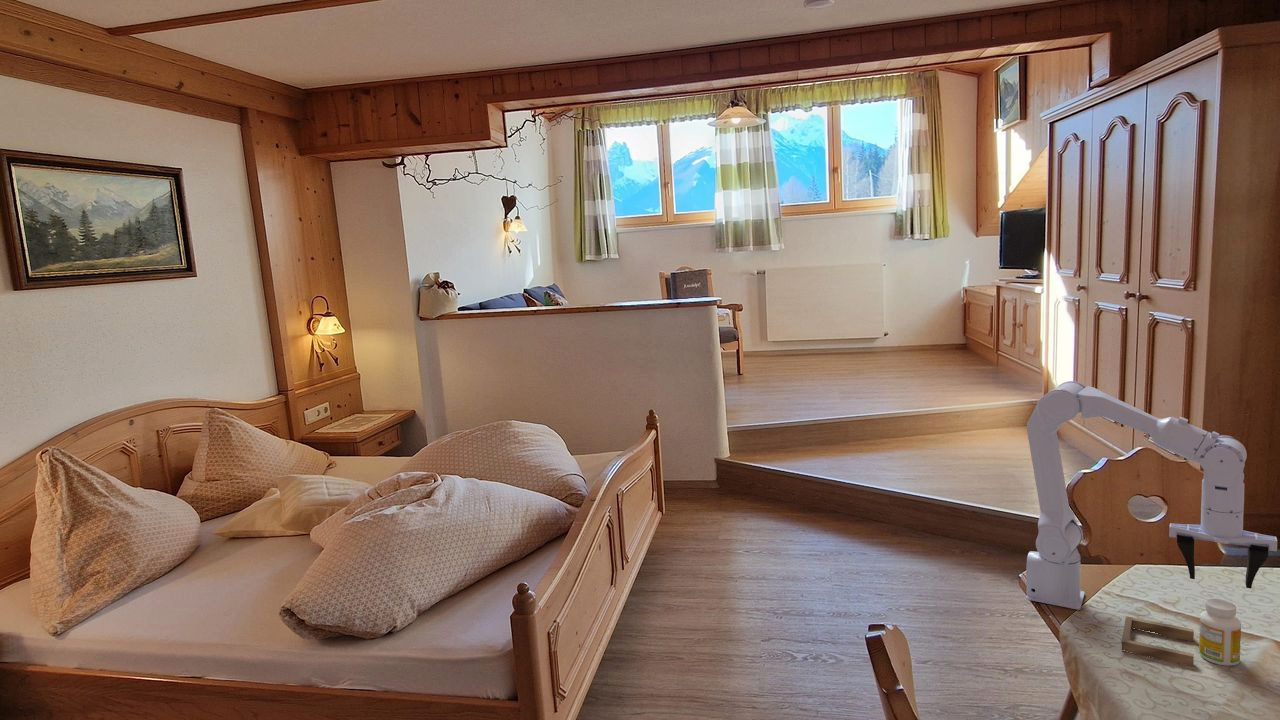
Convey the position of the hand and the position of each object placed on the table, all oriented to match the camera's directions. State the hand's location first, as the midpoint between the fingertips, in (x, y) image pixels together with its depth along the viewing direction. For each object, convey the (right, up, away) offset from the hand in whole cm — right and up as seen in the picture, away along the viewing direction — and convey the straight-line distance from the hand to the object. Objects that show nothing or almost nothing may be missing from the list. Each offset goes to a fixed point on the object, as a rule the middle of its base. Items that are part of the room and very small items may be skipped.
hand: (1219, 581), depth 126 cm
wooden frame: (-10, -11, 0) cm, 15 cm away
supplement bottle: (-4, -12, -5) cm, 13 cm away
